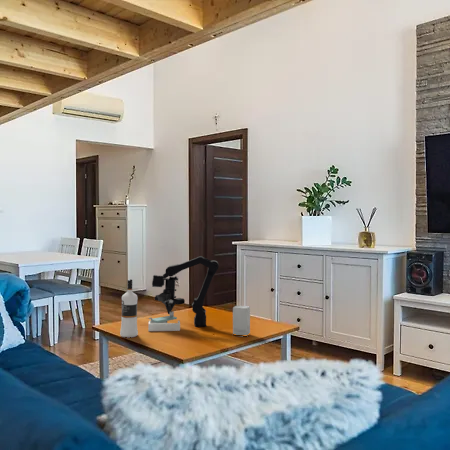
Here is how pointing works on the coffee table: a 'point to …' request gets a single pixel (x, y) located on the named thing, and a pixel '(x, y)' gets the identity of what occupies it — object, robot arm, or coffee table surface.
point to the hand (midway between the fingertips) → (168, 314)
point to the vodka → (129, 313)
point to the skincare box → (241, 320)
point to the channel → (163, 326)
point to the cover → (164, 318)
